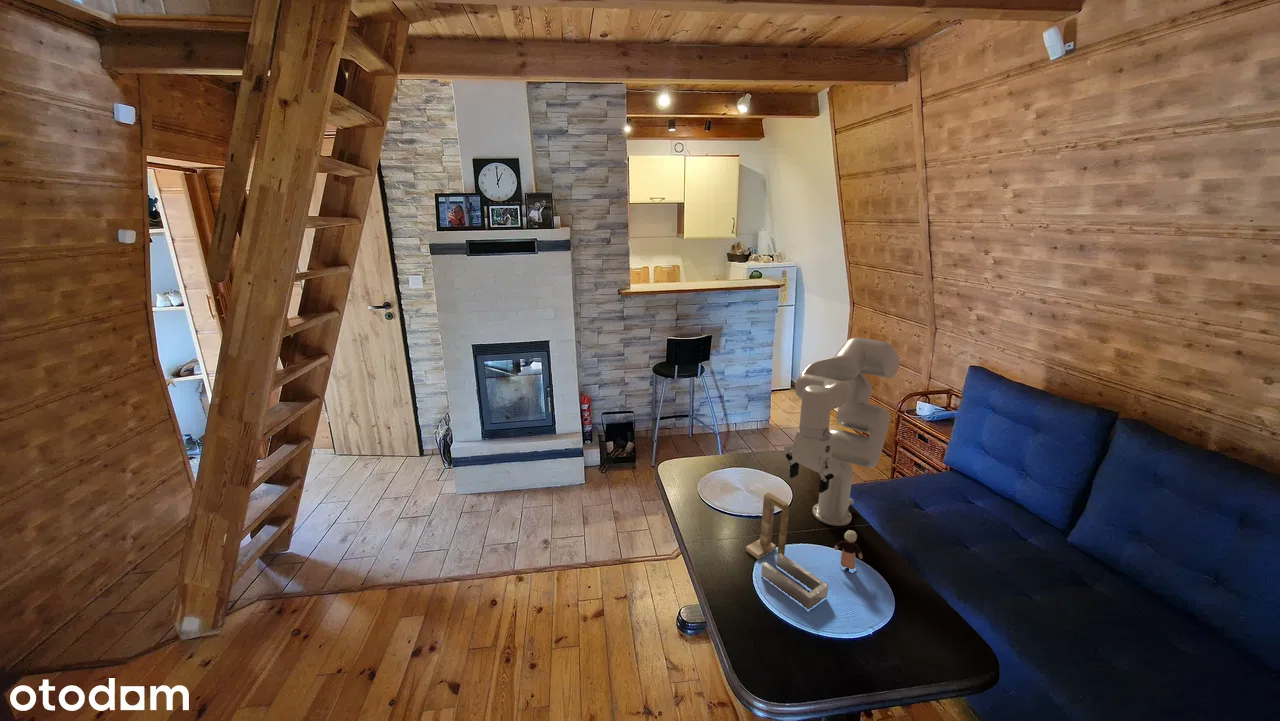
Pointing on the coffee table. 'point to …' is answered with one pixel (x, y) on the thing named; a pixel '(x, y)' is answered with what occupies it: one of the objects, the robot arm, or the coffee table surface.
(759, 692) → the coffee table surface
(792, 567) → the steel C-link
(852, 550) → the grandmother figurine
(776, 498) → the pin stand
